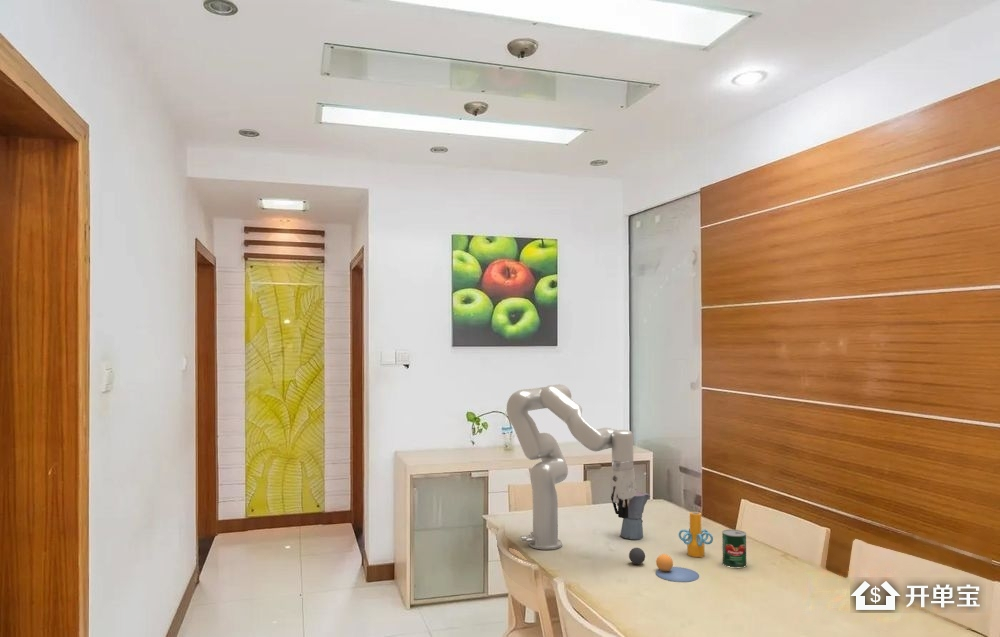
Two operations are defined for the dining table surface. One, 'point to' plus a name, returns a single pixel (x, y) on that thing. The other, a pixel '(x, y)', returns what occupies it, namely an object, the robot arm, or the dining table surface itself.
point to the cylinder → (695, 536)
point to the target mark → (678, 574)
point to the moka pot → (634, 516)
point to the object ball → (664, 562)
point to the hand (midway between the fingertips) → (623, 517)
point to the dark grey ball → (637, 555)
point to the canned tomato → (734, 548)
